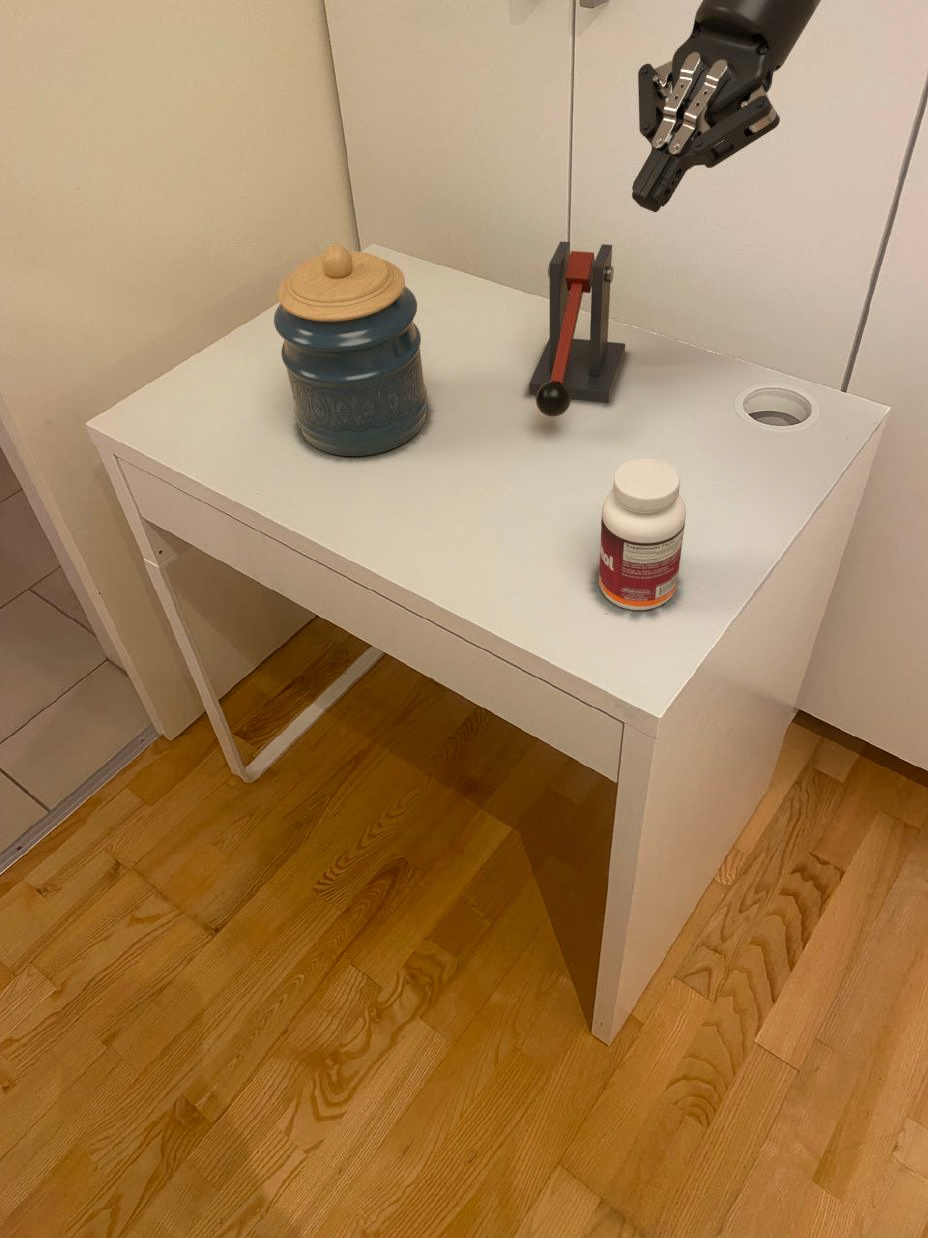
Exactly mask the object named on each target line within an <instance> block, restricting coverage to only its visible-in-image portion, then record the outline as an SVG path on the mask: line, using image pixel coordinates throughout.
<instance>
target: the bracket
mask: <svg viewBox="0 0 928 1238" xmlns="http://www.w3.org/2000/svg"><path fill="white" fill-rule="evenodd" d="M553 253H554V254H553V255H552V257H551V260H550V261H549V263H548V266H547V267H548V268H547V276H548V278H549V338H548V340H547V341H546V345H545V347H544V348H543V351H542V354H541V356H540V358H539V361H538V363H537V365H536V368H535V369H534V371H533V374H532V376H531V379H530V381H529V384H528V385H529V388H528V389H529V395H535V396H536V394H537V392H538V390H539V388H540V387H541V386H542V385H543V384H545V383H547V382H549V381H550V380H551V375H552V371H553V366H554V362H555V357H556V352H557V348H558V343H559V339H560V334H561V329H562V325H563V320H564V315H565V311H566V306H567V302H568V297H569V292H570V291H568V289H567V284H566V278H565V276H566V271H567V267H568V262H569V258H570V253H571V242H570V241H559V243H558V245H557V247H556V249H555V250H554V252H553ZM612 259H613V244H604V243H603V244H601V246H600V248H599V250H598V252H597V255H596V257H595V262H594V264H593V266H592V287H591V295H590V297H591V298H590V300H591V301H590V325H589V327H590V329H589V339H584V338H583V339H582V338H574V337H573V342H572V347H571V351H570V356H569V361H568V365H567V370H566V375H565V379H564V385H565V386H566V387H567V388H568V389H569V391H570V394H571V400H580V401H586V402H587V401H588V402H597V403H606V404H607V403H608V404H609V403H610V399H611V396H612V393H613V391H614V388H615V384H616V381H617V379H618V376H619V373H620V370H621V367H622V364H623V361H624V359H625V355H626V345H627V344H626V343H625V342H614V341H608V339H609V323H610V322H609V319H610V299H611V283H612V282H613V280H614V271H615V269H614V266H612Z"/></svg>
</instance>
